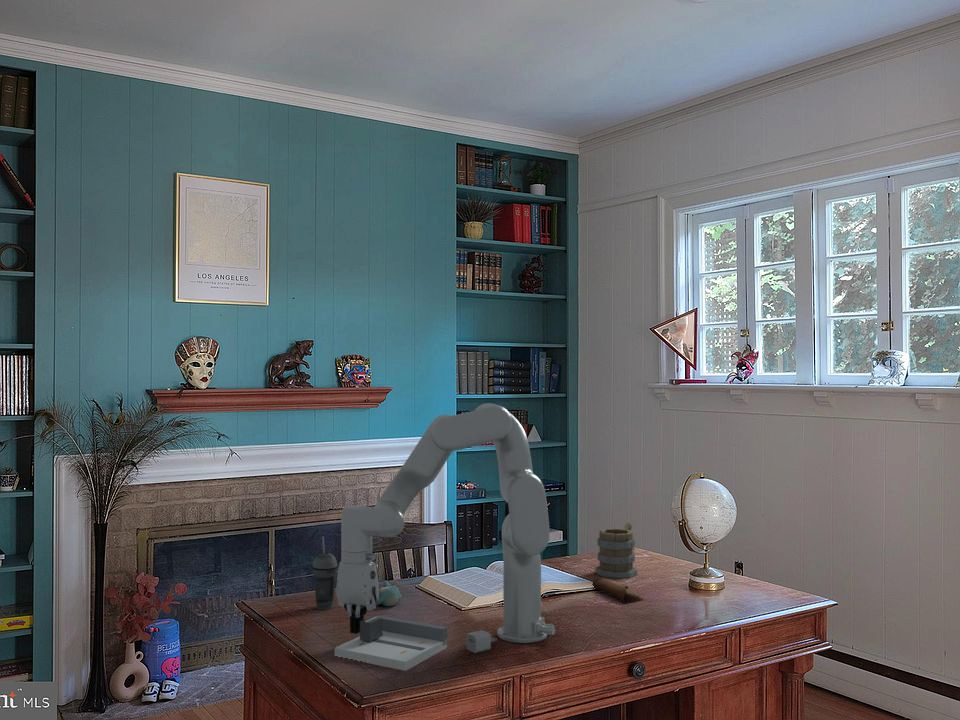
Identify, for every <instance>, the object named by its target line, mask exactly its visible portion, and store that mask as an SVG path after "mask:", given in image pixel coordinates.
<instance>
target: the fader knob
mask: <svg viewBox="0 0 960 720" xmlns="http://www.w3.org/2000/svg"><path fill="white" fill-rule="evenodd" d="M359 636H360V640H364V641H369V642H371V641H373V640H375V639H377V638H379V637H381V636H382V618H381V617H377V616H374V615H372V616H369V617H367V618H364V620H362V621H360V633H359Z"/></svg>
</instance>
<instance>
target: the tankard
mask: <svg viewBox="0 0 960 720" xmlns="http://www.w3.org/2000/svg"><path fill="white" fill-rule="evenodd" d="M632 529H633V526H632V525H631V524H630V522H626V523H625V524H624V526H623V527H622V528H604V529H602V530H600V531H599V532H598V533H599V537H598V538H597V547H599V551H598V552H597V561H599V565H598V566H596V567H594V570H595V571H594V572H595V573H596V574H597V575H599V576H600V577H602V578H604V577H605V578H608V579H609V578H611V579H626V578H627V579H628V578H633V577H634V576H637V574H638V569H637V568H636V567H634V566H633V565H634V563H635V561H636V559H635V558H636V556H635V554H634V553H633V552H634V551H633V549H634V547H635V545H636V541H635V539H634V537H633V535H634V534H633V533H634V532H633V531H631V530H632Z"/></svg>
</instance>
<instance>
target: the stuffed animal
mask: <svg viewBox="0 0 960 720" xmlns="http://www.w3.org/2000/svg"><path fill="white" fill-rule="evenodd" d="M402 596H403V595H402V594H401V592H400V589H399V587H398V586H396V585H392V584H391V583H390V582H389V581H388V580H383V582H382V585H381V587H379V600H378V601H377V602H375V604H376V607H377V606H379V605H383V606H384V607H393V606H396V605H397V604H398V603H399V602H400V601H401V598H402Z"/></svg>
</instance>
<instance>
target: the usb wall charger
mask: <svg viewBox="0 0 960 720" xmlns="http://www.w3.org/2000/svg"><path fill="white" fill-rule="evenodd" d="M496 641H498V637H493V635H491V633H490V632H488V631H485V630H483V629H482V630H477V631H473V632H468V633H466V649H467V650H468V651H470V652H472V653H474V654H477V653H481V652H485V651H489V650H492V645H491V644H492V643H493V642H496Z"/></svg>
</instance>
